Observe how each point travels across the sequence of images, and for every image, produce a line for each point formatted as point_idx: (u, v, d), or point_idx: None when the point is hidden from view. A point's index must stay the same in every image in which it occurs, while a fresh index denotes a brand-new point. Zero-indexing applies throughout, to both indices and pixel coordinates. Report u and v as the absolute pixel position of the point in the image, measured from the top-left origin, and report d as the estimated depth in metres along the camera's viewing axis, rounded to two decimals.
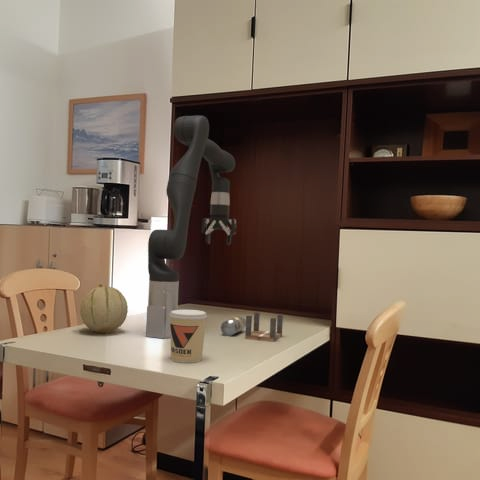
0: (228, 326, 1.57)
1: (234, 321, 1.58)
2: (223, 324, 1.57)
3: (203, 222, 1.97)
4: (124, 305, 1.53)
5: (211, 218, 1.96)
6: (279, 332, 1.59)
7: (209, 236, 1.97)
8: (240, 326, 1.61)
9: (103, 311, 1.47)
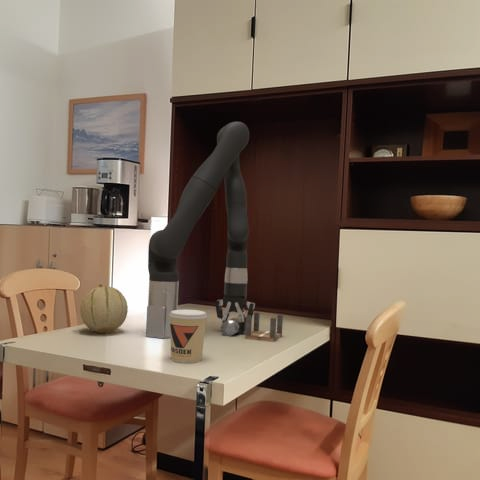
0: (228, 326, 1.57)
1: (234, 321, 1.58)
2: (223, 324, 1.57)
3: (217, 305, 1.63)
4: (124, 305, 1.53)
5: (225, 298, 1.62)
6: (279, 332, 1.59)
7: None
8: None
9: (103, 311, 1.47)
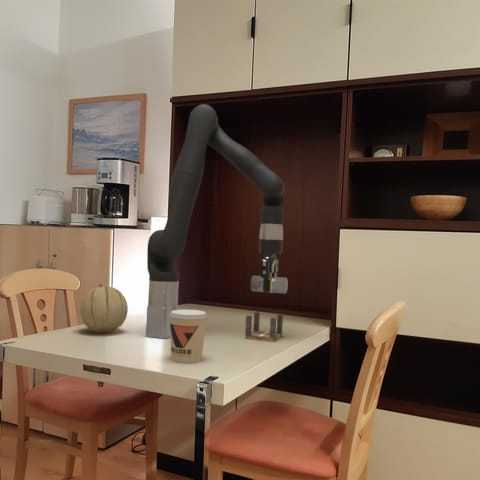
0: None
1: (258, 277, 1.57)
2: None
3: None
4: (124, 305, 1.53)
5: None
6: (279, 332, 1.59)
7: None
8: None
9: (103, 311, 1.47)
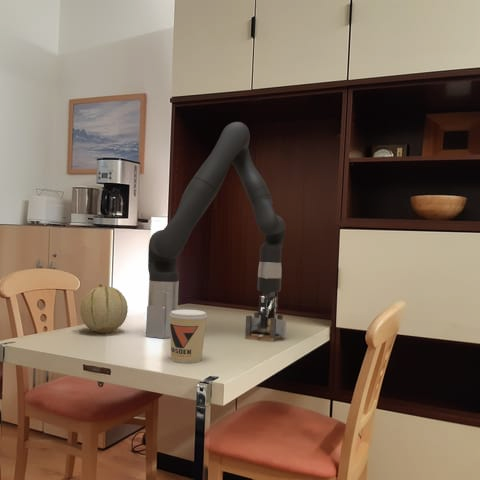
0: None
1: (256, 319, 1.57)
2: None
3: None
4: (124, 305, 1.53)
5: None
6: None
7: (271, 315, 1.60)
8: None
9: (103, 311, 1.47)
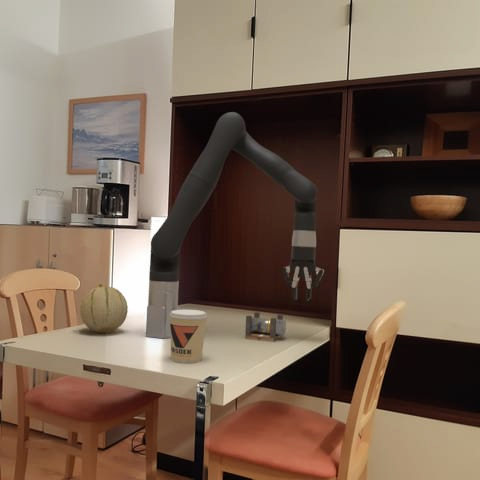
0: None
1: (256, 319, 1.57)
2: None
3: (284, 272, 1.54)
4: (124, 305, 1.53)
5: (292, 263, 1.53)
6: None
7: (296, 290, 1.54)
8: (264, 327, 1.55)
9: (103, 311, 1.47)
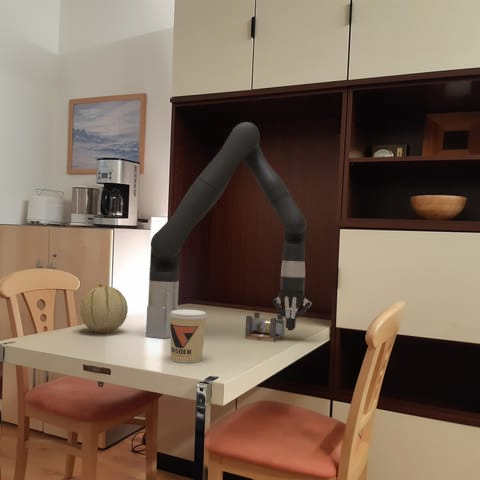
0: None
1: (256, 319, 1.57)
2: None
3: (275, 304, 1.55)
4: (124, 305, 1.53)
5: (280, 293, 1.54)
6: None
7: None
8: (263, 327, 1.55)
9: (103, 311, 1.47)
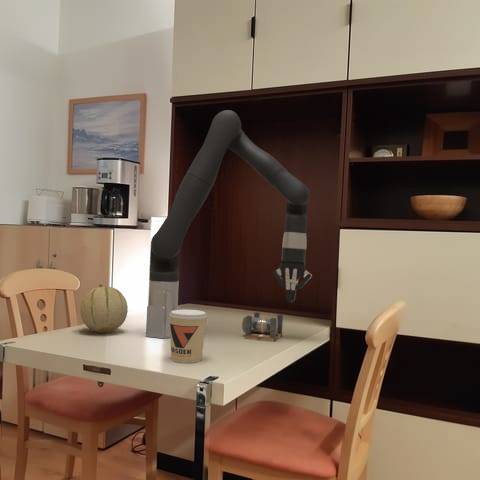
0: None
1: None
2: None
3: (276, 276, 1.55)
4: (124, 305, 1.53)
5: (281, 265, 1.54)
6: (279, 332, 1.59)
7: None
8: (257, 326, 1.55)
9: (103, 311, 1.47)
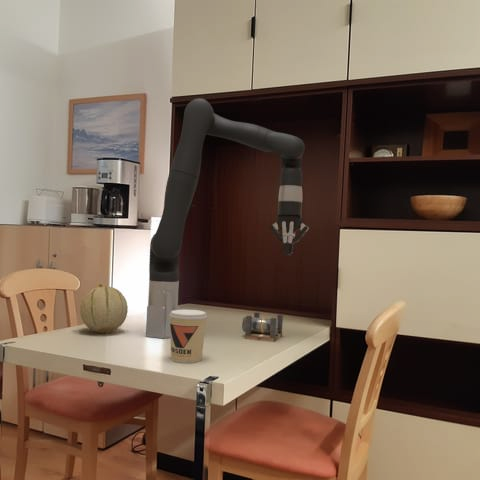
0: None
1: None
2: None
3: (273, 230, 1.56)
4: (124, 305, 1.53)
5: (278, 219, 1.55)
6: (279, 332, 1.59)
7: None
8: (257, 326, 1.55)
9: (103, 311, 1.47)
